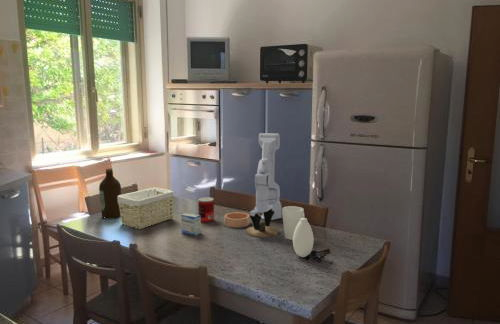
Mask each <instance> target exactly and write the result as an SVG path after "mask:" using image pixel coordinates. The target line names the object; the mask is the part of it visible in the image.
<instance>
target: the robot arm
mask: <svg viewBox="0 0 500 324" xmlns="http://www.w3.org/2000/svg"><path fill="white" fill-rule="evenodd" d="M280 141H281V139H280V134H279V133H278V132H277V133H272V132H271V133H270V132H269V133H263V132H260V133H259V135H258V145H259V146H260V148H261V149H262V150H261V159H259V161H258V165H257V170H256V174H255V175H254V188H255V206H254V209H252V210H250V211H249V216H250V220H251V221H252V224H253V226H254V229H255V230H259V224H260V221H261V219H262V220H264V222H266V226H268V227H269V226H270V227H271V221H273V220H278V219H283V215H282V202H281V201H280V197H281V191H280V190H281V189H280V185H279V184H278V183H277V182H276V181H275V168H276V167H275V161H276V160H275V159H276V152H277V150H279V149H280V147H281V145H280V143H281V142H280ZM260 214H262V215H260Z"/></svg>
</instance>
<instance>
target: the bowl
mask: <svg viewBox="0 0 500 324" xmlns="http://www.w3.org/2000/svg"><path fill="white" fill-rule="evenodd" d="M250 220H251V218H250V213H246V212H240V211H239V212H238V211H237V212H229V213H226V214H224V225H225V226H226V227H228V228H234V229H235V228H245V227H248V226H249V225H251V224H250Z"/></svg>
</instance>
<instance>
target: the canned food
mask: <svg viewBox="0 0 500 324" xmlns="http://www.w3.org/2000/svg"><path fill="white" fill-rule="evenodd" d="M197 200H198V215H201V223H212V222H213V221H214V219H215V199H214V197H210V196H209V197H208V196H205V197H200V198H198V199H197Z"/></svg>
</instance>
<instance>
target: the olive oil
mask: <svg viewBox="0 0 500 324" xmlns="http://www.w3.org/2000/svg"><path fill="white" fill-rule="evenodd" d="M98 193H99V199H100V211H101V218H102V217H105V218H114V219H116V218H115V217H118V218H120V217H121V215H120V209H119V204H118V199H117V196H119V195H122V185H121V183H120V181H119V179H117V178H116V177H115V176H114V171H113V168H106V169H105V177H104V178H103V179H102V180H101V181H100V183H99V187H98ZM119 216H120V217H119Z"/></svg>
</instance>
